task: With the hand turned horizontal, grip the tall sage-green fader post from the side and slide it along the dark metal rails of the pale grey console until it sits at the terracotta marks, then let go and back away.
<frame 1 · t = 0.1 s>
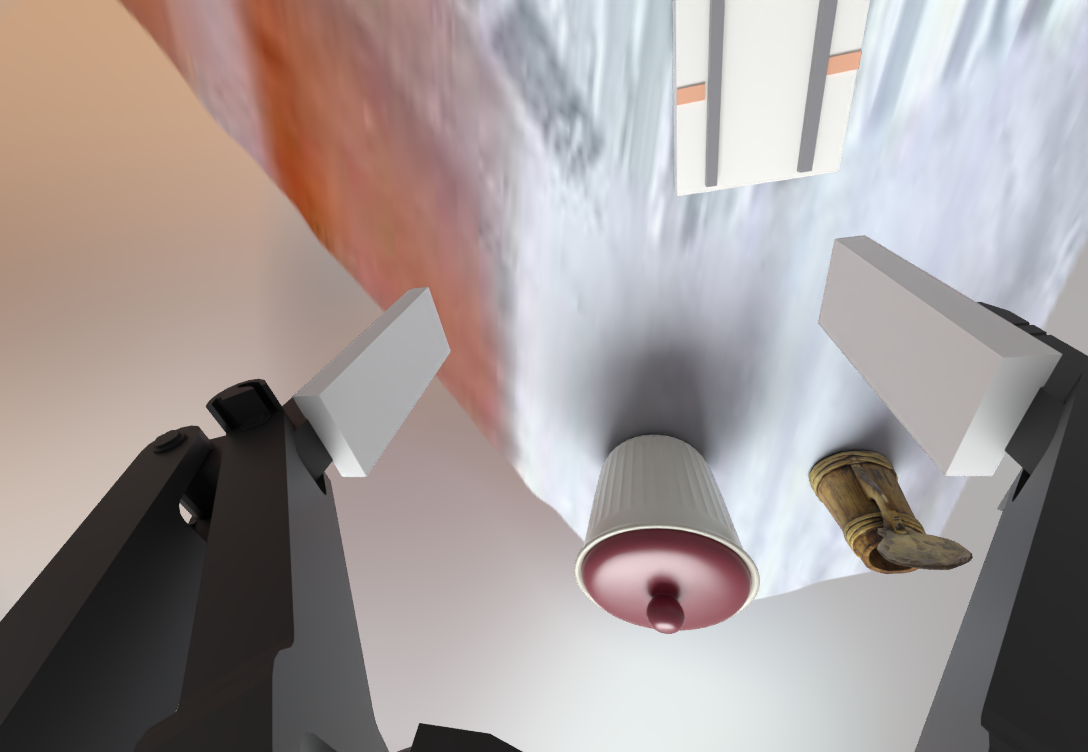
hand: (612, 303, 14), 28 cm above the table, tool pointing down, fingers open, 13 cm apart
canister: (653, 463, 56), on the table
wooden mug: (847, 461, 50), on the table
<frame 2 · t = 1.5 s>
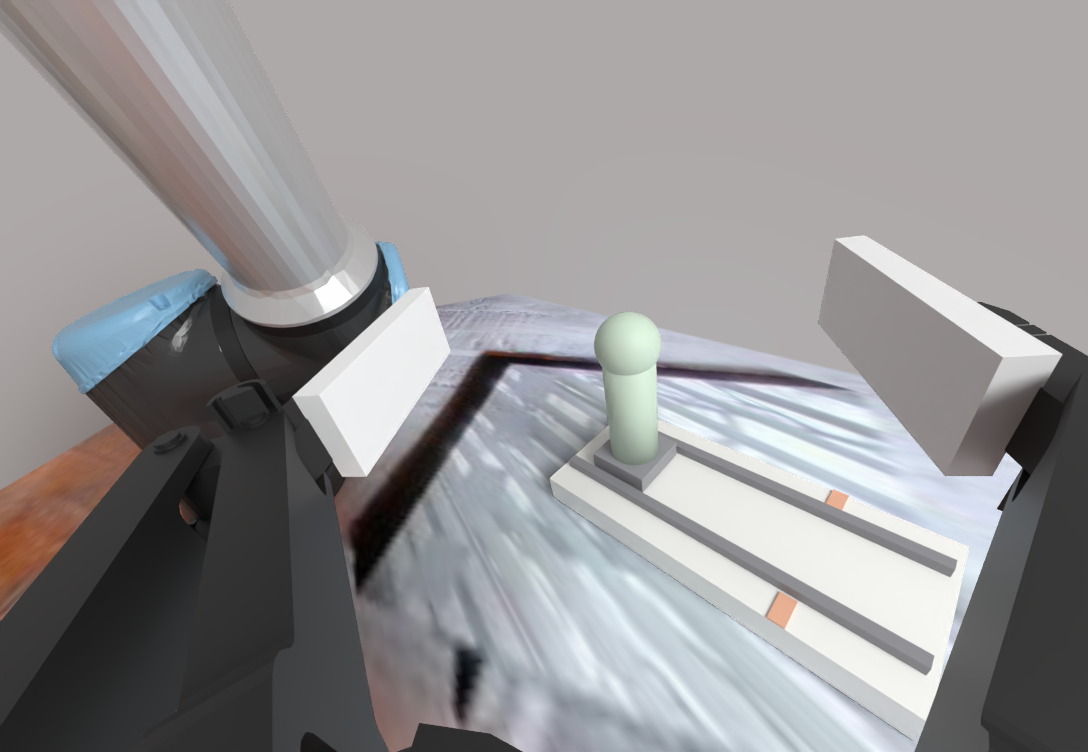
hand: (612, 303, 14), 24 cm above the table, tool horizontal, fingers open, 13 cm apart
fader knob: (630, 396, 33), point 10 cm above the table, slide at 0.0 cm
fader console: (721, 527, 33), on the table
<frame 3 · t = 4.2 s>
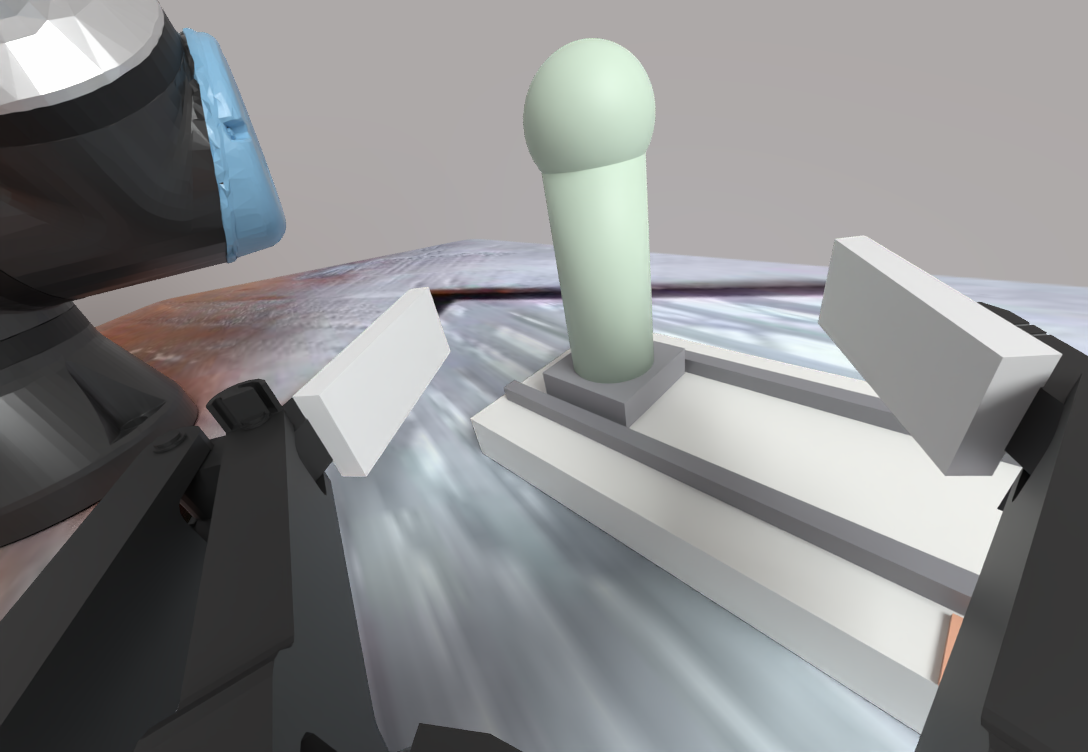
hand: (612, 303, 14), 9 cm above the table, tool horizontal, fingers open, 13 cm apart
fader knob: (601, 249, 18), point 10 cm above the table, slide at 0.0 cm
fader console: (772, 488, 18), on the table
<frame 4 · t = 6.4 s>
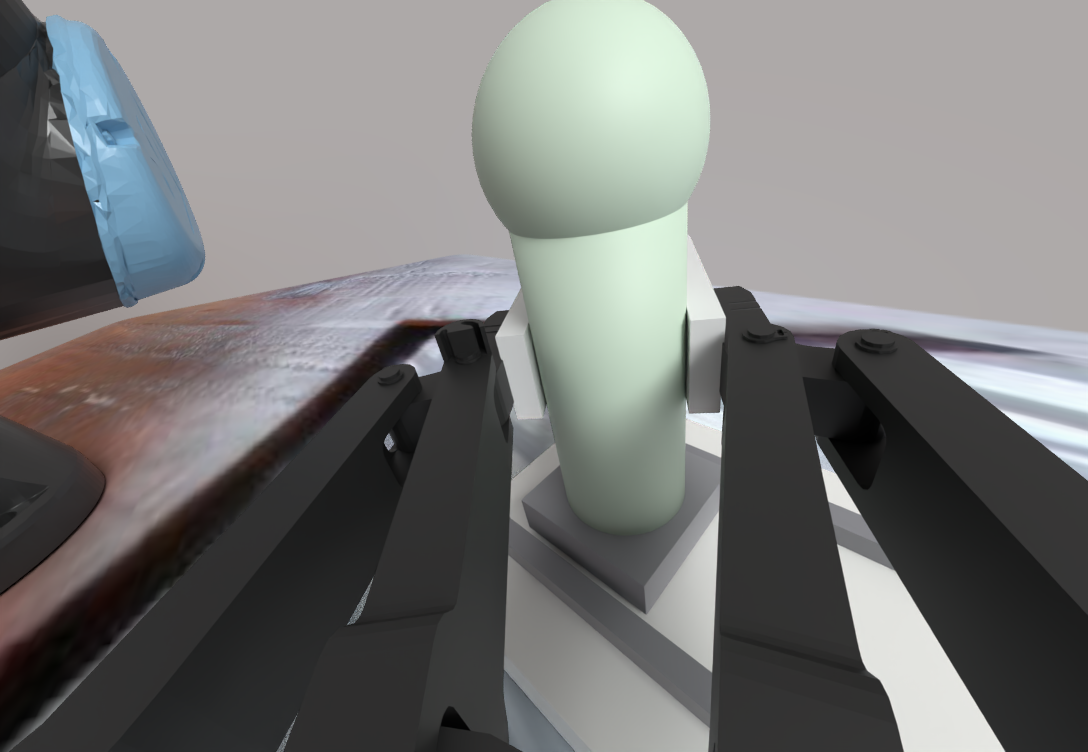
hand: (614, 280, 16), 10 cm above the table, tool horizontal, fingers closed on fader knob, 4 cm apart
fader knob: (608, 342, 11), point 10 cm above the table, slide at 0.0 cm, touching gripper
fader console: (878, 721, 11), on the table
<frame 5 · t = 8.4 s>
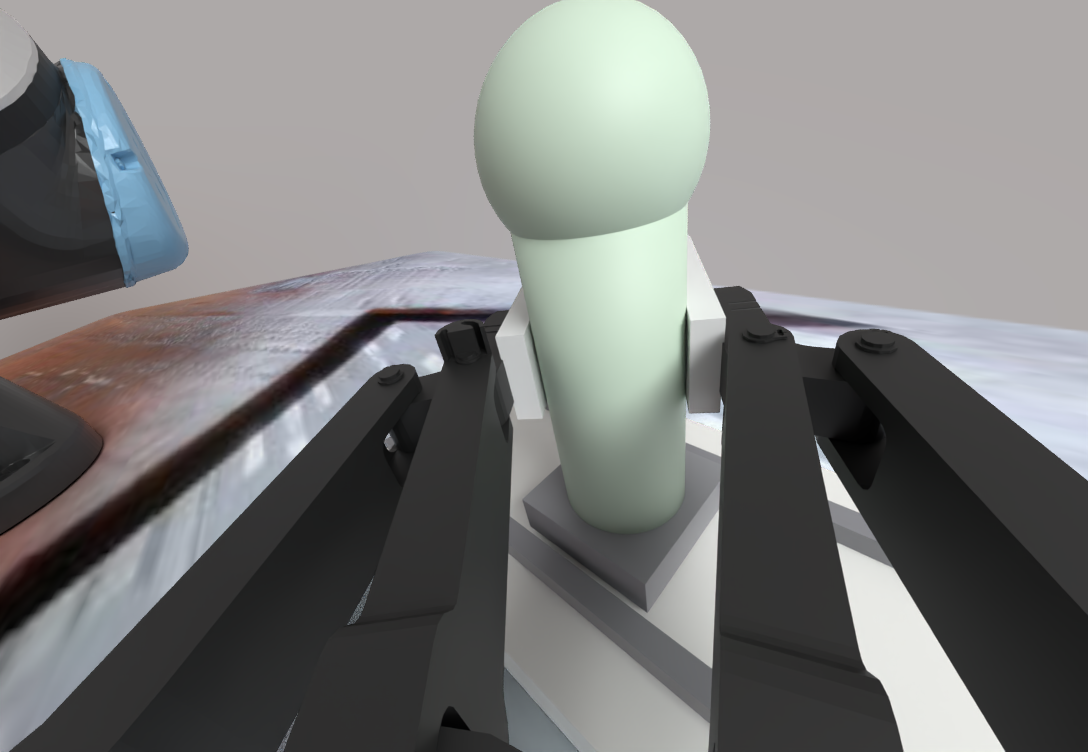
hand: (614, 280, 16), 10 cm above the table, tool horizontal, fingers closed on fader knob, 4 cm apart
fader knob: (609, 342, 11), point 10 cm above the table, slide at 7.1 cm, touching gripper
fader console: (650, 568, 16), on the table
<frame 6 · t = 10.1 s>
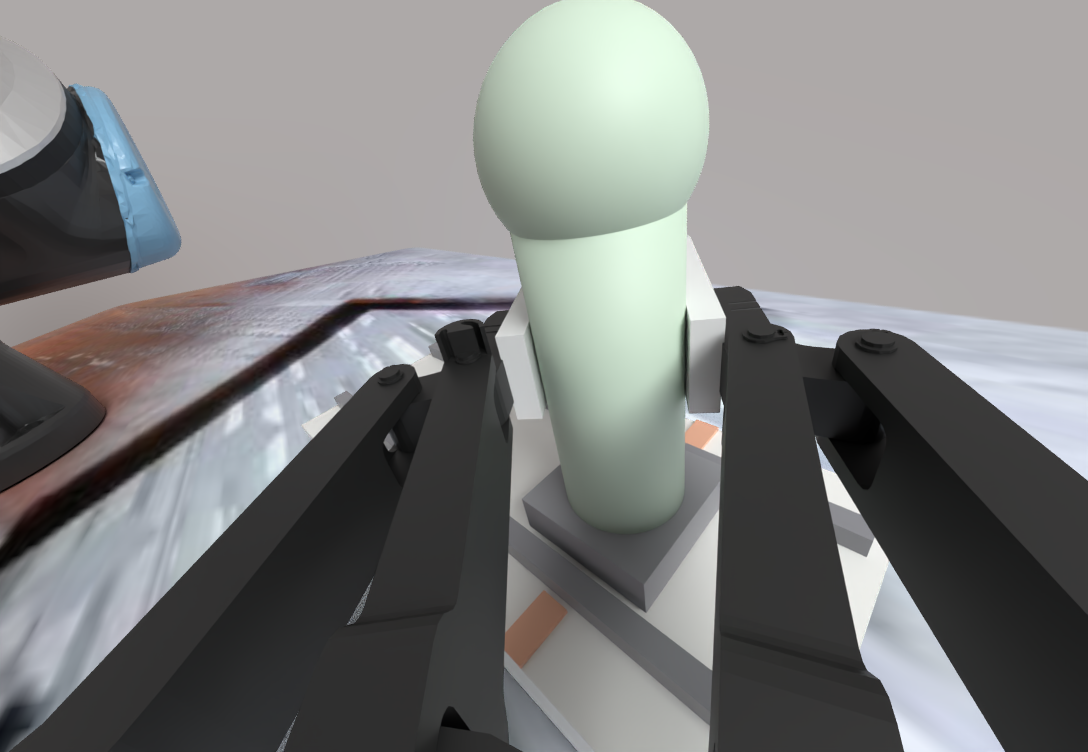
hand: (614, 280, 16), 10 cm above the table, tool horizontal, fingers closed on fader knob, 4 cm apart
fader knob: (608, 342, 11), point 10 cm above the table, slide at 13.9 cm, touching gripper
fader console: (530, 489, 20), on the table
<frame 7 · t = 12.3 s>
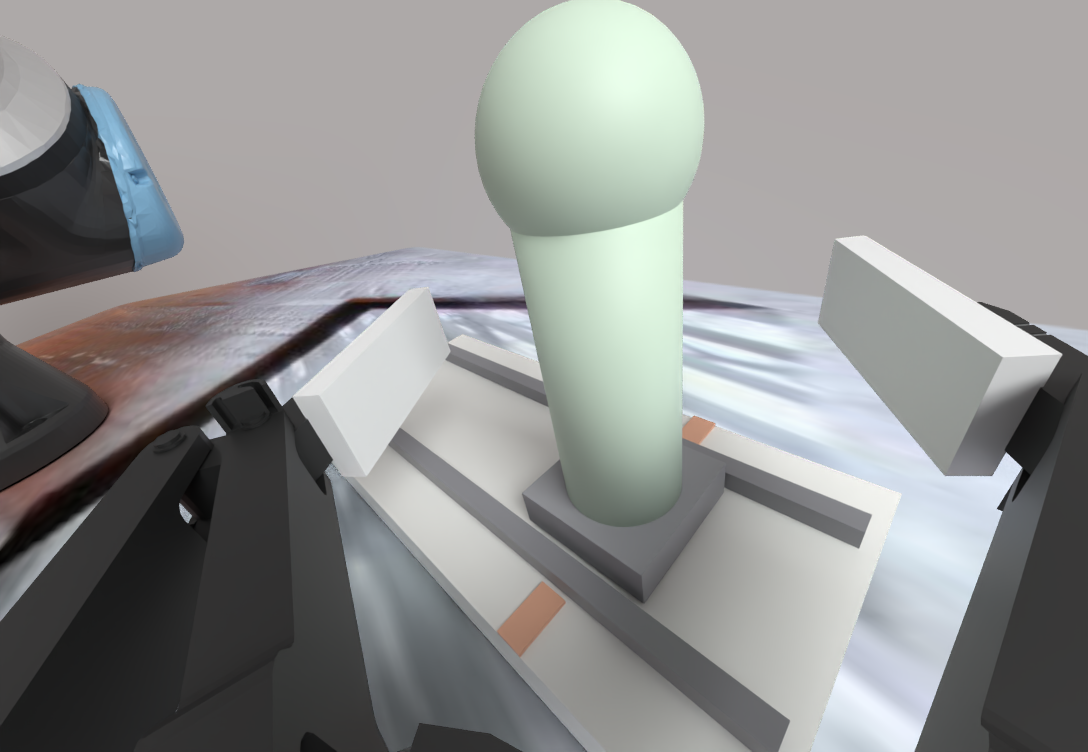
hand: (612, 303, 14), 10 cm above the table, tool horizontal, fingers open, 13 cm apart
fader knob: (607, 337, 12), point 10 cm above the table, slide at 13.9 cm
fader console: (530, 484, 21), on the table
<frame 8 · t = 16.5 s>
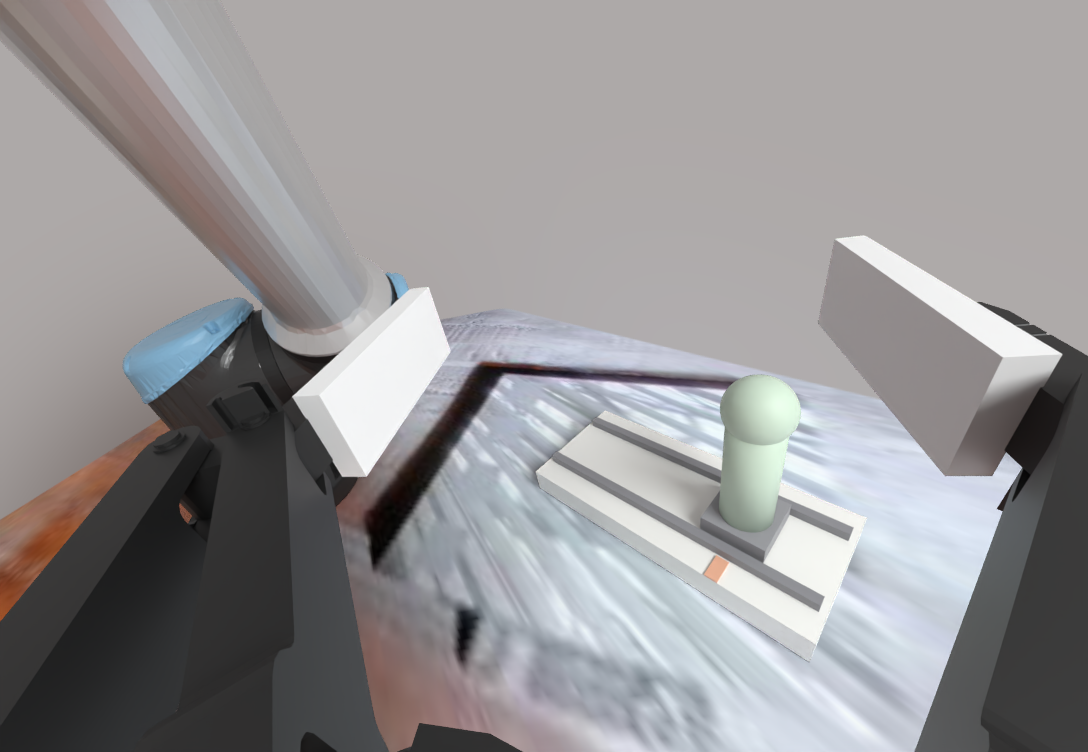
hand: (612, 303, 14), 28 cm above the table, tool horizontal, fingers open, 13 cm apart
fader knob: (752, 460, 30), point 10 cm above the table, slide at 13.9 cm
fader console: (678, 509, 40), on the table
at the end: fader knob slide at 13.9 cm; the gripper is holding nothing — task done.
